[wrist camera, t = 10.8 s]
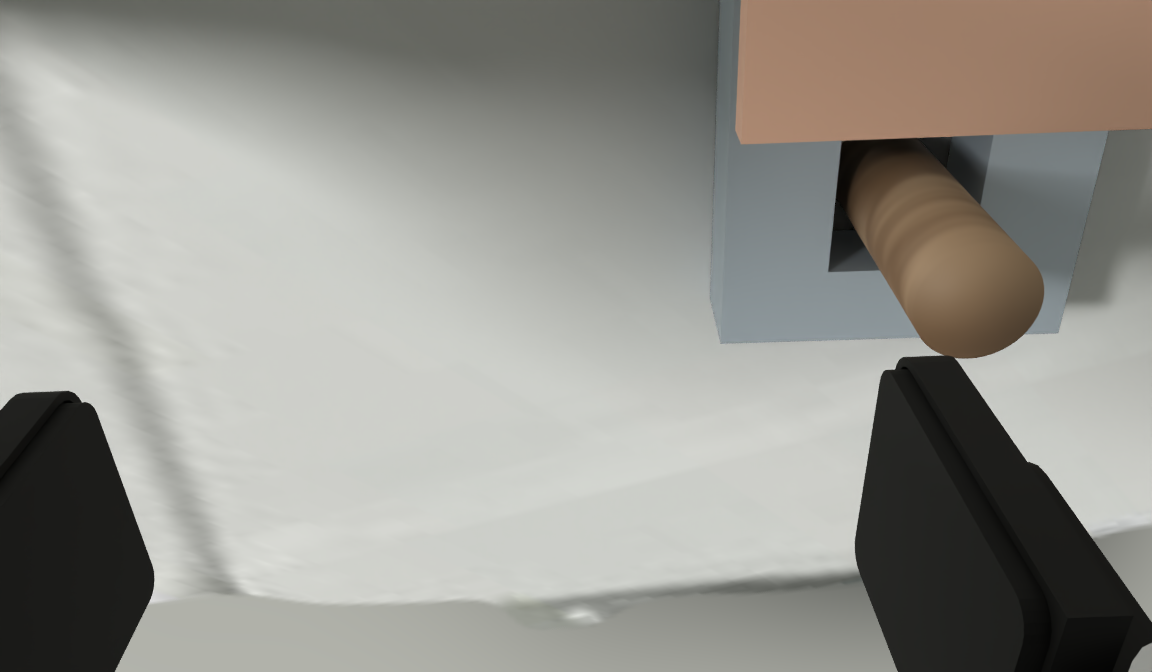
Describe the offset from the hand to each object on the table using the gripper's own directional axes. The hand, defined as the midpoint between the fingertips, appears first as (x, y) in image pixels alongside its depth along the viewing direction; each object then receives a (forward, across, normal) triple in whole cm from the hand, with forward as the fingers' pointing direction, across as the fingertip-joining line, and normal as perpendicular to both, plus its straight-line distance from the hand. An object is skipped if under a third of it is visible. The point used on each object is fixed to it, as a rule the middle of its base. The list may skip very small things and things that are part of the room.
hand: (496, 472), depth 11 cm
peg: (+28, -14, +8) cm, 33 cm away
